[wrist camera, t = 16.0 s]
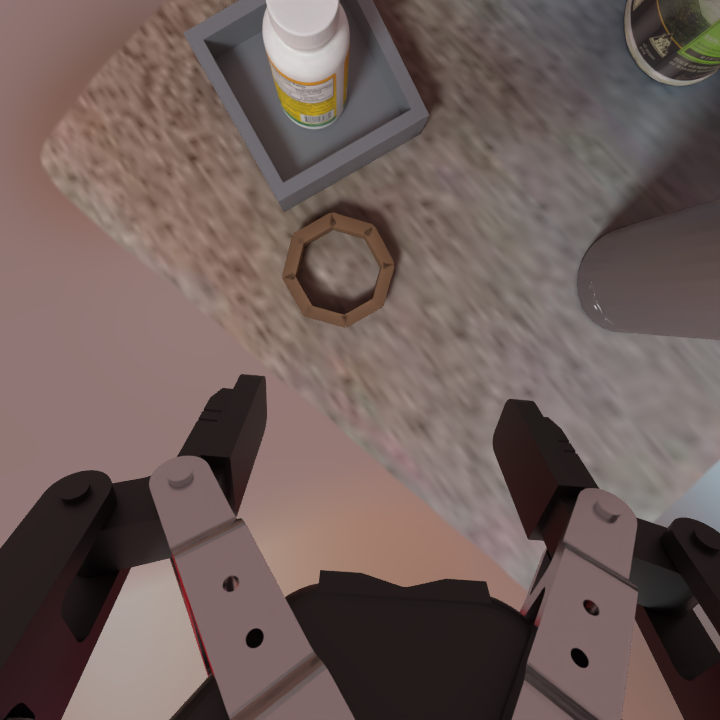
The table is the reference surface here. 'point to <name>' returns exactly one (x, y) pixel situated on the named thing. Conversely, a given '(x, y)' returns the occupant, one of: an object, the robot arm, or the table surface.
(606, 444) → the table surface
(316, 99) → the supplement bottle
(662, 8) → the coffee can
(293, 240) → the holder ring
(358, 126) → the tray
